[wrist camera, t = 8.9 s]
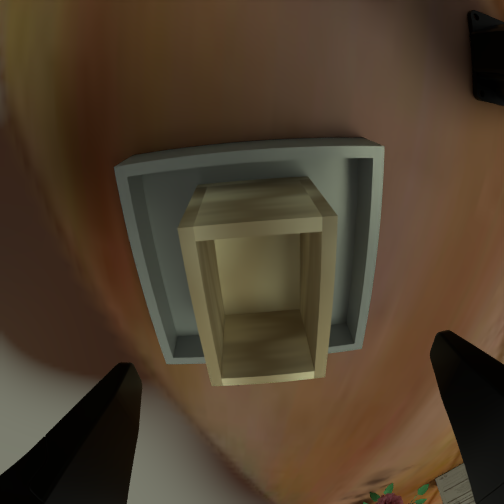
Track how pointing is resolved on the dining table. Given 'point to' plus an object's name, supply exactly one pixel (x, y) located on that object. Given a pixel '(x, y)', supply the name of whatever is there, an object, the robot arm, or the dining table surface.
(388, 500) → the flower vase
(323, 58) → the dining table surface
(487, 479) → the robot arm
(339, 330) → the grey tray
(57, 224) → the dining table surface
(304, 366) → the birch crate
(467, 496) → the supplement box
